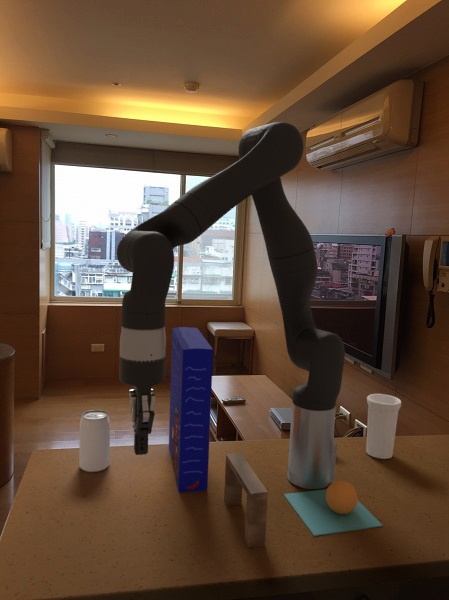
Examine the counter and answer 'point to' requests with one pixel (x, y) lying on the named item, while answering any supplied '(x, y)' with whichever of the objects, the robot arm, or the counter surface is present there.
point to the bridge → (257, 497)
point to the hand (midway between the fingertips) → (140, 452)
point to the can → (94, 441)
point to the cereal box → (190, 408)
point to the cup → (381, 424)
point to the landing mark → (328, 514)
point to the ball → (341, 497)
